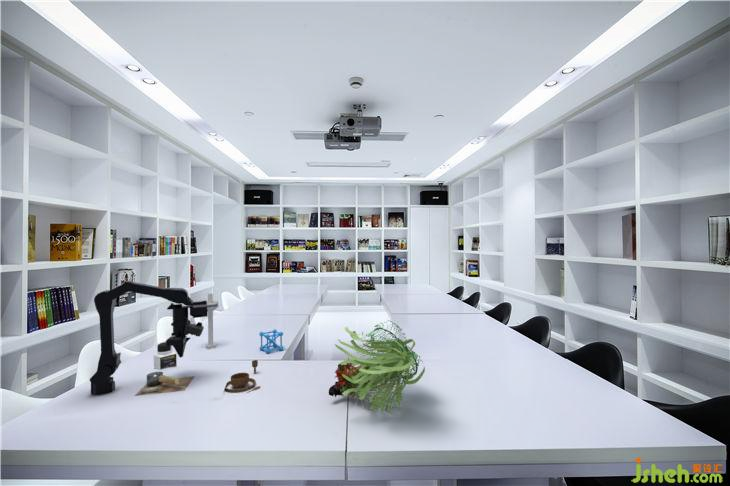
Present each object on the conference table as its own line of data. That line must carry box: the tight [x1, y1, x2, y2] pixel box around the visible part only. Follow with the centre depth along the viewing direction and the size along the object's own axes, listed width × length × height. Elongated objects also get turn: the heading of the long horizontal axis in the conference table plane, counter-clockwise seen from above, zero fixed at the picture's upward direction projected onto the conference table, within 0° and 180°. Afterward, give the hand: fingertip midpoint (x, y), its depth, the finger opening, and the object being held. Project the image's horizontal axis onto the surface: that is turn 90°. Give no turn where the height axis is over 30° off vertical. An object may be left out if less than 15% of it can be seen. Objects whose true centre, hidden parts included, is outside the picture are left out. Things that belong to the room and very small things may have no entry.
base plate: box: [134, 375, 195, 397], centre depth 137 cm, size 17×15×3 cm
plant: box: [328, 319, 426, 418], centre depth 119 cm, size 35×35×40 cm
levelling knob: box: [146, 371, 180, 386], centre depth 137 cm, size 16×6×4 cm, turn 65°
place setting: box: [224, 359, 261, 394], centre depth 142 cm, size 18×20×6 cm
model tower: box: [205, 293, 219, 350], centre depth 194 cm, size 8×8×30 cm
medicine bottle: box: [153, 341, 178, 370], centre depth 161 cm, size 7×7×12 cm
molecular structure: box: [258, 329, 284, 354], centre depth 187 cm, size 10×10×10 cm
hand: (181, 357), depth 143 cm, fingers closed
